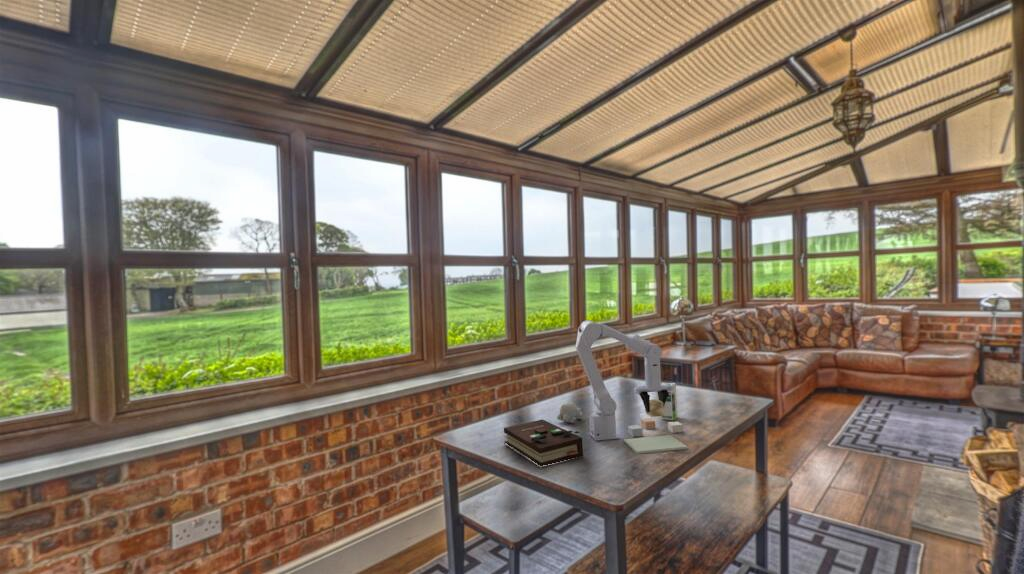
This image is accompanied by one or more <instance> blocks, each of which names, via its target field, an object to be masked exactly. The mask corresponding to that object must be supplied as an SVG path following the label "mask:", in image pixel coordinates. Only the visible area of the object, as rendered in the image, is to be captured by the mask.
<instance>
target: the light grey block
mask: <svg viewBox="0 0 1024 574" xmlns="http://www.w3.org/2000/svg"><path fill="white" fill-rule="evenodd" d="M667 430H668V431H669V432H671V433H672V434H676V433H677V432H678V433H683V432H684V429H683V423H681V422H679V421H678V420H677V421H668V422H667Z"/></svg>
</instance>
